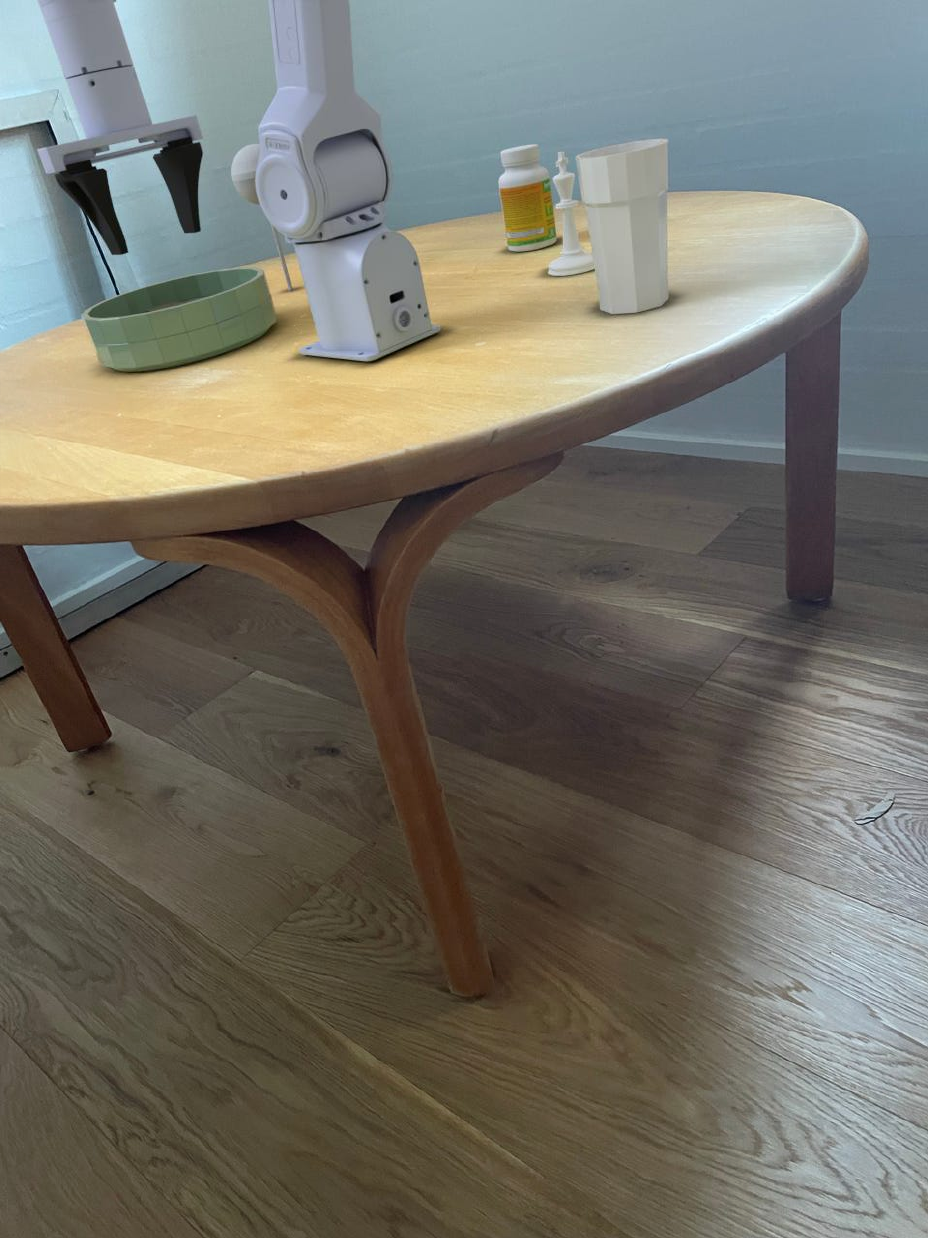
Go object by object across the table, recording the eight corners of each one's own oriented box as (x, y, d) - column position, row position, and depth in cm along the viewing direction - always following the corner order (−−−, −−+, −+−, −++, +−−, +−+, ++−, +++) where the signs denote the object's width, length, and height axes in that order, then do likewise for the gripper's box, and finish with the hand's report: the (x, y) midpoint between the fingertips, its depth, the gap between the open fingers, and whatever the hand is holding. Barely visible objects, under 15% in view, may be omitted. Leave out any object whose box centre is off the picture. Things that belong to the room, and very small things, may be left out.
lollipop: (305, 293, 100) (265, 142, 93) (257, 300, 102) (213, 152, 94) (323, 279, 105) (287, 135, 98) (277, 287, 107) (238, 145, 99)
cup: (640, 319, 67) (626, 155, 62) (574, 314, 72) (556, 160, 66) (695, 293, 71) (687, 135, 65) (629, 290, 75) (616, 142, 70)
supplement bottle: (559, 245, 97) (546, 144, 92) (508, 255, 97) (493, 155, 92) (555, 237, 101) (543, 140, 96) (507, 246, 102) (493, 150, 97)
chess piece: (609, 260, 86) (597, 143, 81) (586, 274, 83) (573, 153, 78) (563, 263, 89) (549, 150, 84) (539, 277, 86) (523, 160, 80)
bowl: (312, 320, 88) (298, 266, 85) (156, 381, 78) (135, 323, 76) (219, 314, 99) (204, 266, 96) (73, 367, 90) (52, 315, 87)
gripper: (153, 66, 83) (201, 224, 90) (0, 93, 76) (66, 264, 83) (191, 54, 79) (240, 222, 86) (32, 82, 71) (100, 263, 78)
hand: (157, 242), depth 84 cm, fingers open, 7 cm apart
